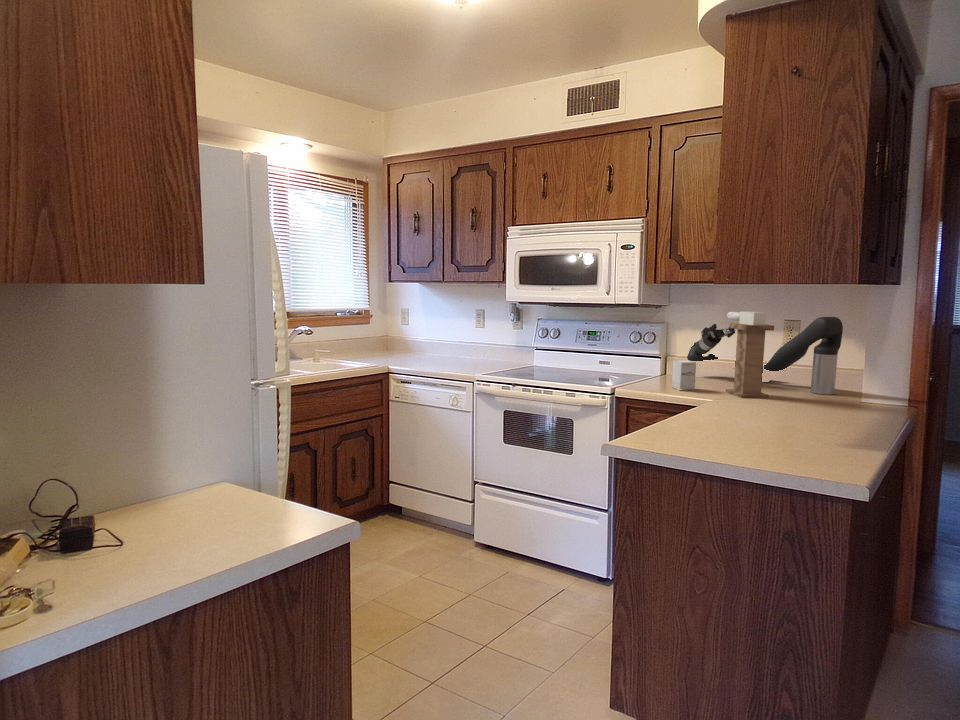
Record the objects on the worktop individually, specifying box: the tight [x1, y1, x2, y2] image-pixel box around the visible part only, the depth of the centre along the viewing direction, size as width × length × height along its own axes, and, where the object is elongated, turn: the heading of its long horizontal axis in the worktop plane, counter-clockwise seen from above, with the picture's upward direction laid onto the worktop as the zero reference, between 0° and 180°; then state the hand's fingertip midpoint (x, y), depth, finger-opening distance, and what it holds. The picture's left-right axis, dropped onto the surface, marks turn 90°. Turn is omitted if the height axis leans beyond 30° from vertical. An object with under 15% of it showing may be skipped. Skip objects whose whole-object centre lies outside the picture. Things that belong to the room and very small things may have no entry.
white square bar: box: [726, 311, 767, 325], centre depth 278 cm, size 25×5×5 cm, turn 5°
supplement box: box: [671, 359, 697, 389], centre depth 287 cm, size 7×7×13 cm
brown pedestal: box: [725, 322, 775, 399], centre depth 274 cm, size 14×12×30 cm
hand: (724, 325), depth 296 cm, fingers open, 8 cm apart
